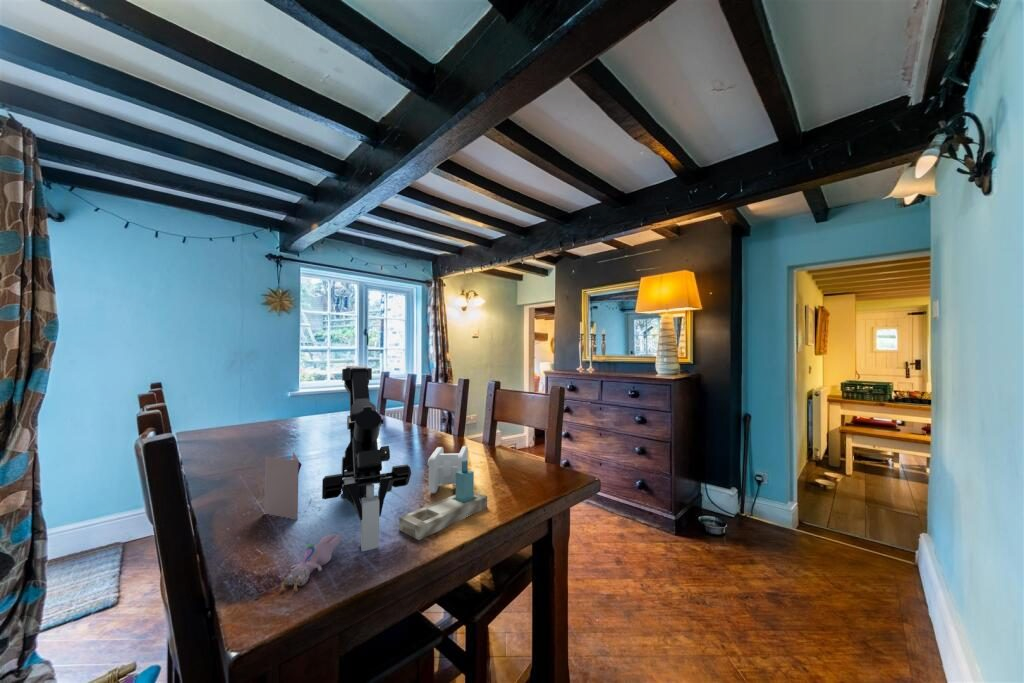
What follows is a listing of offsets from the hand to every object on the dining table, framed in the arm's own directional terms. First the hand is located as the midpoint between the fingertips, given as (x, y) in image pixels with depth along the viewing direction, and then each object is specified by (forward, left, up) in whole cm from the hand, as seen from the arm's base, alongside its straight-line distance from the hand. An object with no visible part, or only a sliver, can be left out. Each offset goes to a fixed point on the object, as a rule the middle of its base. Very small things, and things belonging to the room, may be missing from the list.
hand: (370, 517), depth 78 cm
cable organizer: (-5, +37, -7) cm, 38 cm away
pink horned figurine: (-4, -10, -7) cm, 13 cm away
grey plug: (-1, +1, -7) cm, 7 cm away
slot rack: (+6, +19, -7) cm, 21 cm away
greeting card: (-34, +3, -7) cm, 35 cm away
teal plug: (+8, +25, -7) cm, 27 cm away
